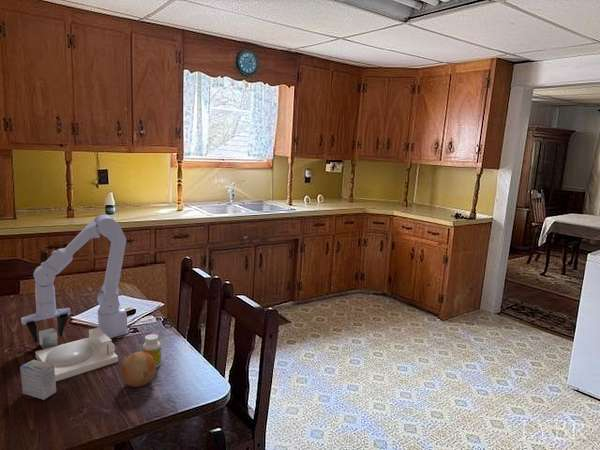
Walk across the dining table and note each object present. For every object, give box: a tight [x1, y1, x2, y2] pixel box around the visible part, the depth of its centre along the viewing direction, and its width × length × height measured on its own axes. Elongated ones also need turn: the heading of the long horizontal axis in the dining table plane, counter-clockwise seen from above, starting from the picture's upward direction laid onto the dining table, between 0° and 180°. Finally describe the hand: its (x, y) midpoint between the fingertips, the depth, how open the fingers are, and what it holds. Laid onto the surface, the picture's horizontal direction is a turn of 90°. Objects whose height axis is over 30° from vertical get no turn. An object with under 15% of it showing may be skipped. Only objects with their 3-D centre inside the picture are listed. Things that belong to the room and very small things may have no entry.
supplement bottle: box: [142, 333, 162, 368], centre depth 140 cm, size 5×5×10 cm
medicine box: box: [19, 359, 57, 401], centre depth 122 cm, size 8×4×9 cm, turn 71°
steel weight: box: [38, 327, 59, 350], centre depth 149 cm, size 4×4×5 cm
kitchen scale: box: [35, 327, 119, 382], centre depth 141 cm, size 19×19×6 cm
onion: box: [120, 350, 157, 388], centre depth 129 cm, size 10×10×10 cm
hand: (48, 338), depth 149 cm, fingers open, 7 cm apart
